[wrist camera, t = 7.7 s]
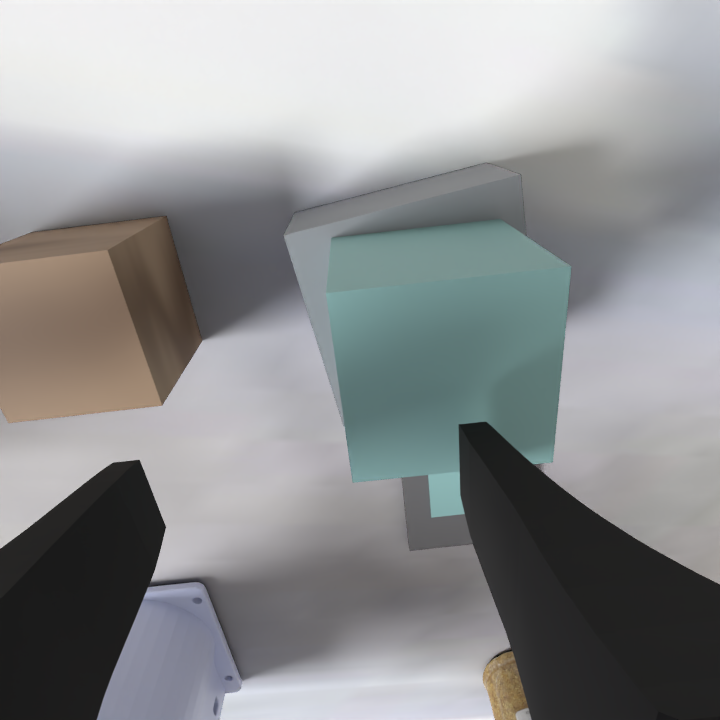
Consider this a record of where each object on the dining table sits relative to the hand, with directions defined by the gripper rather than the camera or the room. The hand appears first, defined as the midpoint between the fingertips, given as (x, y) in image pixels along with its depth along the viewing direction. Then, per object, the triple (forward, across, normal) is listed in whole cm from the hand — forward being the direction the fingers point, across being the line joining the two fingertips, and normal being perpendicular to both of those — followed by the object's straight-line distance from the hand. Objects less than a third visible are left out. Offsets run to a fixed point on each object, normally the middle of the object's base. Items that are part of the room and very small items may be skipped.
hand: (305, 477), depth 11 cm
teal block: (+6, -4, -2) cm, 7 cm away
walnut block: (+10, +7, -2) cm, 12 cm away
